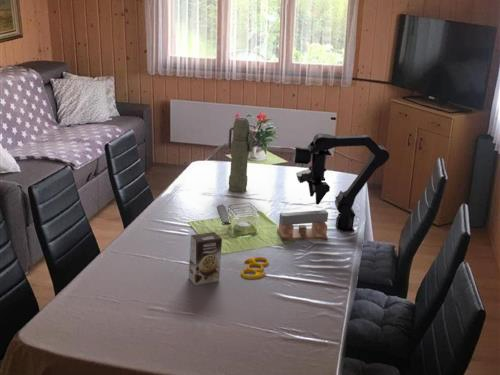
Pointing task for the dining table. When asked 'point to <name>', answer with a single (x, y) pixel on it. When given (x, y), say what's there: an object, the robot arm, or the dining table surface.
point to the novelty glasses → (256, 271)
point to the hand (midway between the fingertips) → (314, 200)
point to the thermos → (239, 154)
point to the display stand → (303, 232)
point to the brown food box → (205, 258)
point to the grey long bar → (303, 217)
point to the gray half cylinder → (223, 213)
